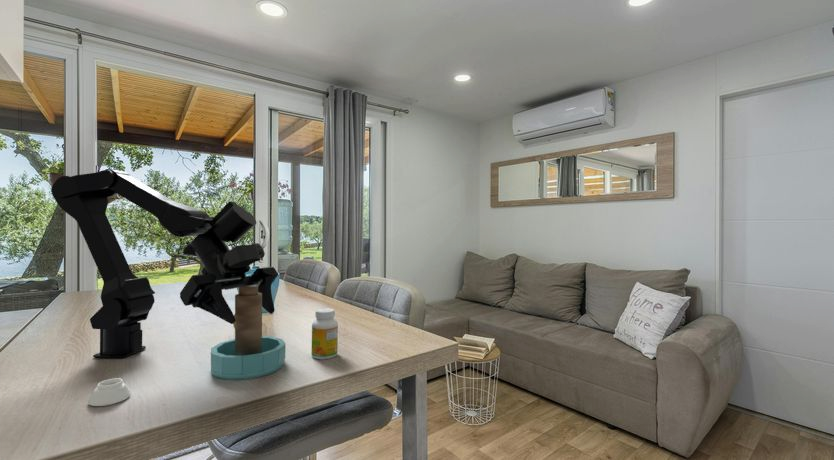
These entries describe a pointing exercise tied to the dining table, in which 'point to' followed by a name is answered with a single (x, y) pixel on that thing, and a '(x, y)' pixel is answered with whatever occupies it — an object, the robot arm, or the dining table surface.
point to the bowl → (247, 360)
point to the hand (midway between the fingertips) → (254, 317)
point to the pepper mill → (248, 321)
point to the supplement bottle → (324, 334)
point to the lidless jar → (109, 392)
